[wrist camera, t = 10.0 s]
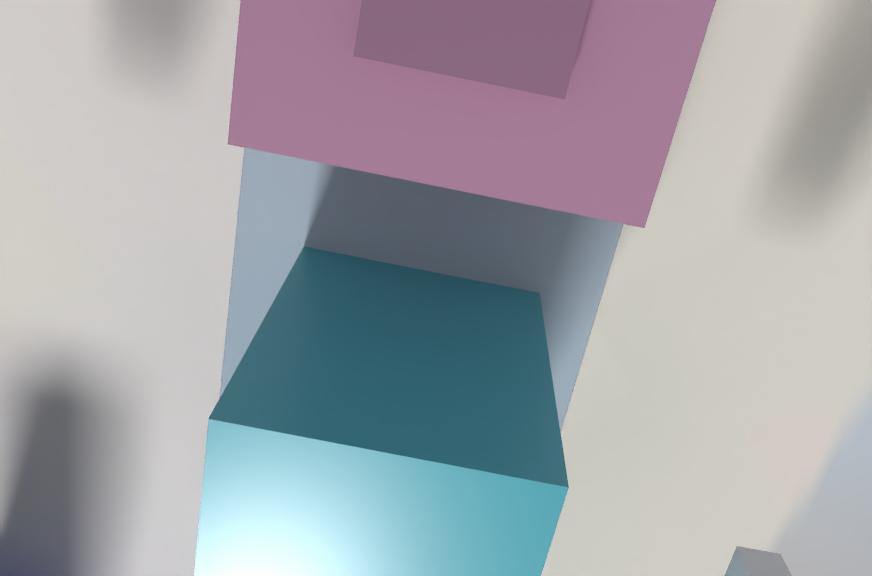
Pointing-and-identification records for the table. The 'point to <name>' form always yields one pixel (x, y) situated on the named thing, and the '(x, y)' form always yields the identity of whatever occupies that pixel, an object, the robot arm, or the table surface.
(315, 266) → the teal block
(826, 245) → the table surface
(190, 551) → the table surface
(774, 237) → the table surface
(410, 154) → the marker stand
